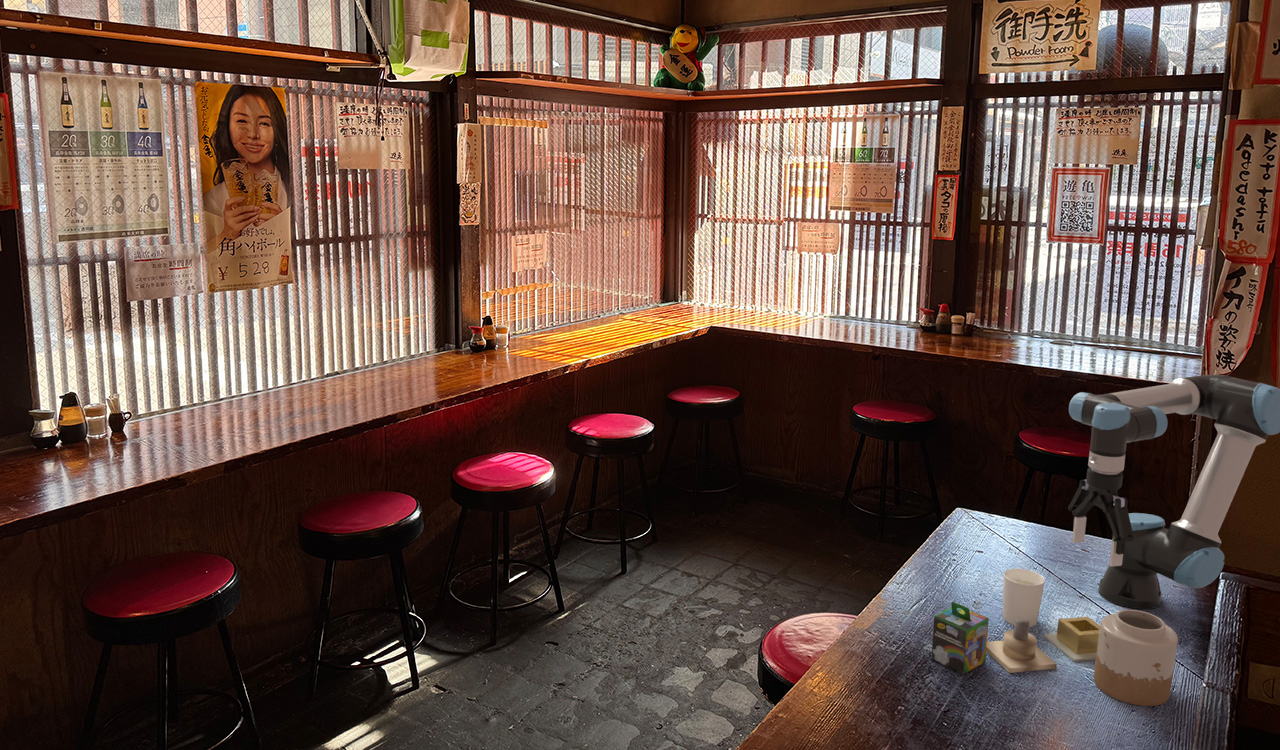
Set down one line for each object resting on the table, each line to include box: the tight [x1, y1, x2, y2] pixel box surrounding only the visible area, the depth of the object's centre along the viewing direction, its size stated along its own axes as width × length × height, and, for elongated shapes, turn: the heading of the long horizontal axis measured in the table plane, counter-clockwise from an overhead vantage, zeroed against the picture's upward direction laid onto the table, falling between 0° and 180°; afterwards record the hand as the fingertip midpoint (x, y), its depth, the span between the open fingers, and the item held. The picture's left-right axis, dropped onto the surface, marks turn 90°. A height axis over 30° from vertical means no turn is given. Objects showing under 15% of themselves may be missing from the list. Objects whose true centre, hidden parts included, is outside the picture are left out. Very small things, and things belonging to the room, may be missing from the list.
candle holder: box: [1002, 568, 1046, 628], centre depth 239 cm, size 10×10×12 cm
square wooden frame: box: [1056, 616, 1100, 654], centre depth 227 cm, size 8×8×5 cm
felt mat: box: [1043, 632, 1097, 663], centre depth 227 cm, size 12×12×1 cm
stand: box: [986, 618, 1058, 674], centre depth 221 cm, size 12×12×10 cm
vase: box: [1093, 609, 1179, 707], centre depth 208 cm, size 15×15×17 cm
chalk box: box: [931, 601, 990, 675], centre depth 219 cm, size 9×9×15 cm
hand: (1096, 553), depth 224 cm, fingers open, 13 cm apart
